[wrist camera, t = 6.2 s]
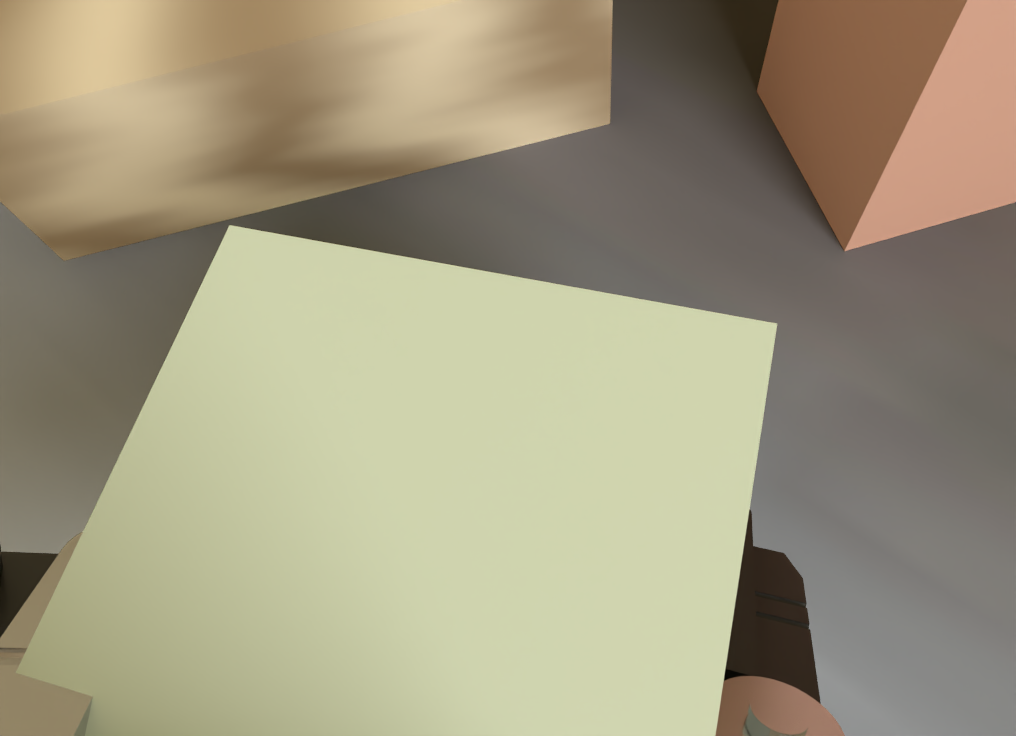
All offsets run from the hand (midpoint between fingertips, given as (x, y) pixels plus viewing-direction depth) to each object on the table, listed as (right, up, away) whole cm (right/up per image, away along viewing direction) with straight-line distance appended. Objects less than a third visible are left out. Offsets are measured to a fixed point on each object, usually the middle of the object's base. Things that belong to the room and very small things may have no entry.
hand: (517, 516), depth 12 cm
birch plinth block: (-6, +13, +12) cm, 18 cm away
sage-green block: (0, -3, +3) cm, 5 cm away
